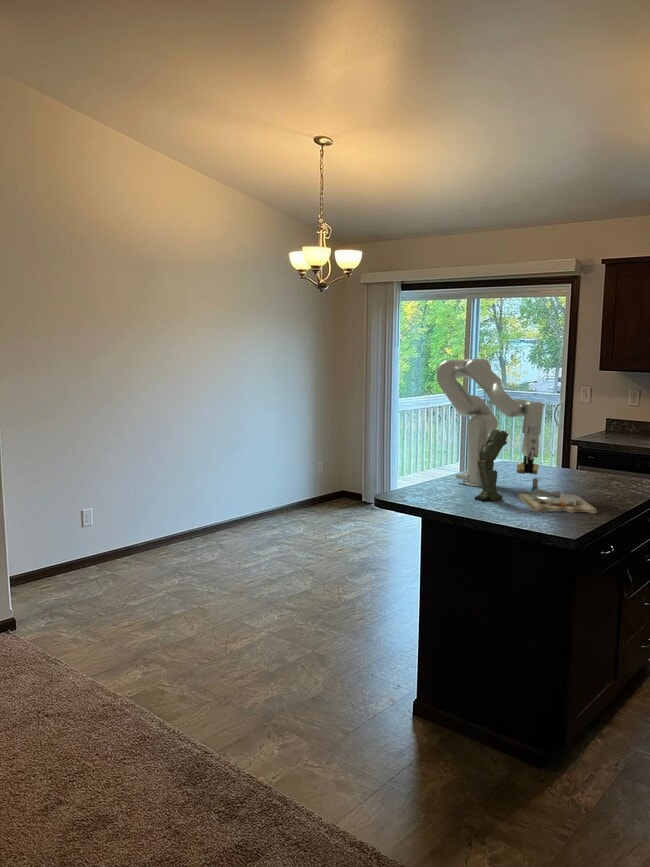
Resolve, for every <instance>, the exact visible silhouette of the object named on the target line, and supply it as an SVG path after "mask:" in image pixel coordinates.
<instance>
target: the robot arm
mask: <svg viewBox="0 0 650 867" xmlns="http://www.w3.org/2000/svg"><path fill="white" fill-rule="evenodd" d="M459 378H471V379H472V380H473V381H474V382H475V383H476V384H477V385H478V386H479V387H480V388H481V389H482V390H483V391H484V392H485V393H486V394H487V396H488V399H489V400H490V402H491V403H492V405H493V406H494V407H495V408H496V409H498V411H499V412H501V414H503V415H504V416H506V417H508V418H519V417H523V422H522V429H521V430H522V431H521V432H522V434H523V439H522V444H521V445H522V447H521V453H522V455H523V459H522V463H526V464H525V474H529V473H532V471H533V463H534V462H535V458H536V459H537V458H539V451H540V435H541V433H542V432H541V431H542V424H543V423H542V422H543V411H544V404H543V402H541V401H533V400H532V401H531V400H530V401H529V400H526V399H521V398H520V399H519V398H517V399H514V398H512V397H511V396H510V395H509V394H507V392H506V391H505V389H504V388H503V386H502V380H501V378H500V377H499V376H498V375H497V374H496V373H495V372H494V371H493V370H492V366H491V364H490V362H489V361H488V360H487V359H485V358H472V359H469V358H466V359H460V358H459V359H447V360H443V361H442V362H441V363H440V364H439V365H438V367H437V370H436V382H437V384H438V386H439V388H440V389H441V390H442V392H443V393H444V395H445V396H446V397H447V399H448V400H449V402H450V404H451V405H452V406H453V408H454V409H455V411H456V412H457V414H459V415H460V416H461V417H465V418H466V417H470V419H469V420H468V422H467V425H466V433H467V455H466V456H467V457H466V458H467V459H466V472H464V473H463V474H456V475H455V479H456V480H462V484H463V485H465V486H469V487H470V486H471V487H482V488H483V485H482V483H481V477H480V471H479V466H478V459H479V451H480V449H481V447H482V444H483V445H485V444H486V443H487V441H488V438H489V435H490V433H491V431H492V430H493V429H497V428H498V419H497V418H496V416H495V414H494V412H492V410H491V409H490V407H489V406H488V405H487V404H486V402H485V401H484V400H483V398H482V397H479V395H476V394H475V395H474V394H469V393H468V391H467V390H466V389H465V387H464V386H463V385H462V384H461V383H460V382H459V381H458V380H457V379H459ZM497 430H498V429H497Z"/></svg>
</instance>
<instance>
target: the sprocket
mask: <svg viewBox="0 0 650 867" xmlns="http://www.w3.org/2000/svg"><path fill="white" fill-rule="evenodd" d="M538 483H539V479H538V478H534V477H533V478H532V487H531V491H532V492H533V493H531V494H532V496H531V499H532V500H537V502H538V503H547V504H548V505H552V504H553V505H560V506H565V505H572V506H576V504H582V500H581V499H582V497H581V496H578V497H575V496H576V495H575V494H567V493H565V492H561V491H558V490H553V491H549V490H544V489H541V488H538ZM535 492H536V493H535Z"/></svg>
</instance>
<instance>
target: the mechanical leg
mask: <svg viewBox="0 0 650 867" xmlns="http://www.w3.org/2000/svg"><path fill="white" fill-rule="evenodd" d="M508 436H509V433H508V432H507V431H505V430H500V429H493V430H492V431H491V433H490V434H488V437H489V438H488V441H487V443H486V444H485V445H483V444H482V447H481V449H480V451H479V459H478V466H479V471H480V477H481V483H482V485H483V487H482V490H481V491H480V494H478V495H476V496H474V498H473V499H475V501H477V500H479V501H478V502H480V501H482V502H481V503H484V502H483V501H490V502H495V501H494V500H497V501H502V500H503V495H502V494H500V493H499V492H498V491H497V487H496V485H497V481H498V471H497V470H494V467H495V466H494V465H495V460H496V459H497V457H498V455H499V454H500V451H501V450H502V449H503V447H504V446H505V445H507V444H508V440H507V439H508Z"/></svg>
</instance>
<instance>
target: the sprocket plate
mask: <svg viewBox="0 0 650 867" xmlns="http://www.w3.org/2000/svg"><path fill="white" fill-rule="evenodd" d="M531 496H532V493H518V498H519V499H520V501H522V502H523V504H525V505H526V506H527V505H528V506H529V507H530V508H531V509H532V510H533V511H532V510H531V509H530V508H529V507H528V506H527V507H528V508H529V509H530V510H531V511H532V512H544V511H567V512H566V513H574V512H588V513H587V514H597V513H598V509H597V508H596V507H594V506H593V505H591V504H590V503H589V502H587V501H585V500H584V499H583V498H581V500H582V504H576V506H572V505H565V506H560V505H553V504H552V505H548V504H547V503H538V502H537V500H532V499H531ZM575 497H579V496H578V495H575Z"/></svg>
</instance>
